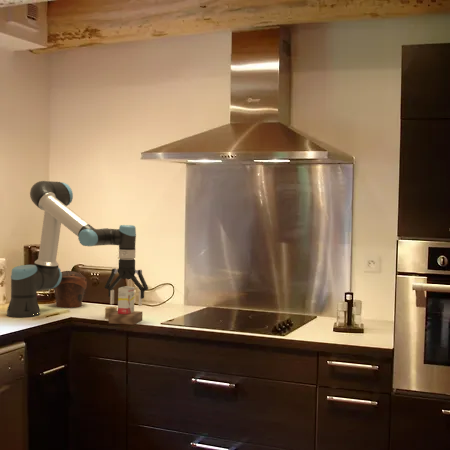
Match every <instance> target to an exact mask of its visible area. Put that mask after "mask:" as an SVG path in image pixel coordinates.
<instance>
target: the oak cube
mask: <svg viewBox="0 0 450 450" xmlns="http://www.w3.org/2000/svg"><path fill="white" fill-rule="evenodd" d="M104 311H105V312H104V313H105V315H104V319H106V320H109V314H111V313H113V312H115V311H118V306H106V307H105V309H104Z"/></svg>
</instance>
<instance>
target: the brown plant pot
mask: <svg viewBox="0 0 450 450" xmlns="http://www.w3.org/2000/svg"><path fill="white" fill-rule="evenodd" d="M61 272H62V279H61V282H60V284H59V285H58V286H57V287H55V288H53V292H54V297H55V302H56V304H55V305H56V307H58V308H65V309H66V308H67V309H68V308H70V309H73V308H78V307H81V306H82V305H83V304H82V303H83V300H84V297H85V294H86V290H87V287H88V285H87V284H88V280H87V278H86V276H84V275H83V274H82V273H80V272H78V271H73V270H63V271H61Z"/></svg>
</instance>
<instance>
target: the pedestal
mask: <svg viewBox="0 0 450 450" xmlns="http://www.w3.org/2000/svg"><path fill="white" fill-rule="evenodd" d="M143 313H144V312H143V311H137V310H134V312H132V313H130V314H118V310H117V311H115V312H113V313H111V314H109V319H108V324H117V325H131V326H132V325H133V326H134V325H136V324H137V323H139V322H141V321H143Z"/></svg>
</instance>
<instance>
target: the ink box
mask: <svg viewBox="0 0 450 450" xmlns="http://www.w3.org/2000/svg"><path fill="white" fill-rule="evenodd" d="M135 289H136V287H135V286H129V285H126V286H121V287H118V289H117V291H118V293H117V311H118V314H130V313H132V312H134V311H135V294H136V293H135Z"/></svg>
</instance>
